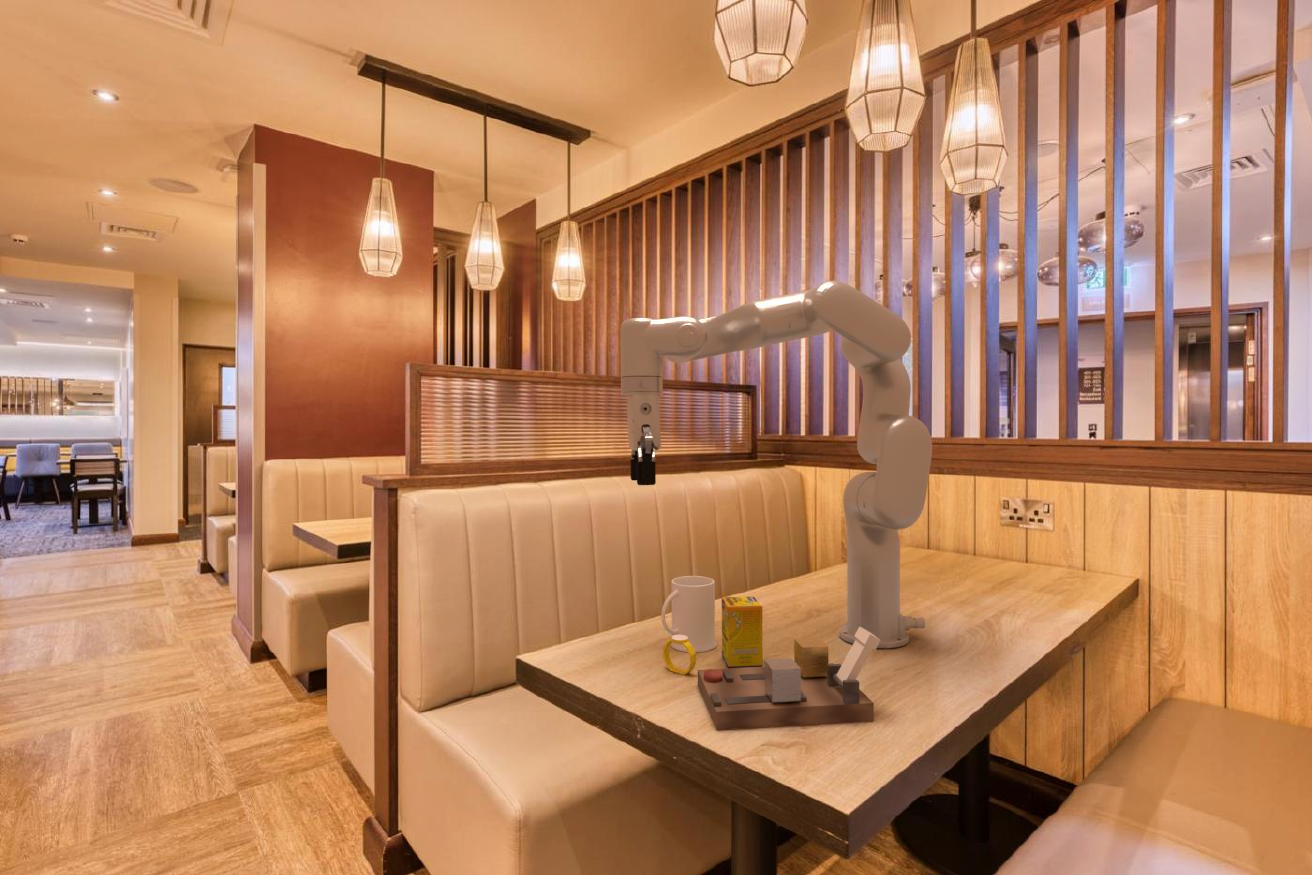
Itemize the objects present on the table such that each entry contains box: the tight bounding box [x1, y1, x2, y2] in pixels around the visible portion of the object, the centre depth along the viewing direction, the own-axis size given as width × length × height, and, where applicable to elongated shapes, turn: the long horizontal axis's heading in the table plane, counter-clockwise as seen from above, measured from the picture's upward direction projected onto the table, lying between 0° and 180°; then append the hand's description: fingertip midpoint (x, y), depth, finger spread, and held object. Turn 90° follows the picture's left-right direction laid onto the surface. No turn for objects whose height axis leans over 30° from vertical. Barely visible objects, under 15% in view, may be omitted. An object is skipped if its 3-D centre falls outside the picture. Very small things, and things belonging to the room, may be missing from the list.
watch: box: [662, 635, 697, 676], centre depth 108 cm, size 6×3×6 cm, turn 51°
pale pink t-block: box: [833, 626, 881, 689], centre depth 93 cm, size 2×4×9 cm, turn 7°
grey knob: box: [763, 657, 801, 702], centre depth 92 cm, size 4×4×4 cm
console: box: [697, 662, 875, 731], centre depth 96 cm, size 22×15×6 cm
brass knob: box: [793, 637, 829, 677], centre depth 100 cm, size 4×4×4 cm
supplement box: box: [721, 595, 764, 668], centre depth 111 cm, size 6×6×11 cm
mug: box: [660, 575, 717, 653], centre depth 120 cm, size 12×8×12 cm
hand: (642, 482), depth 118 cm, fingers open, 9 cm apart
